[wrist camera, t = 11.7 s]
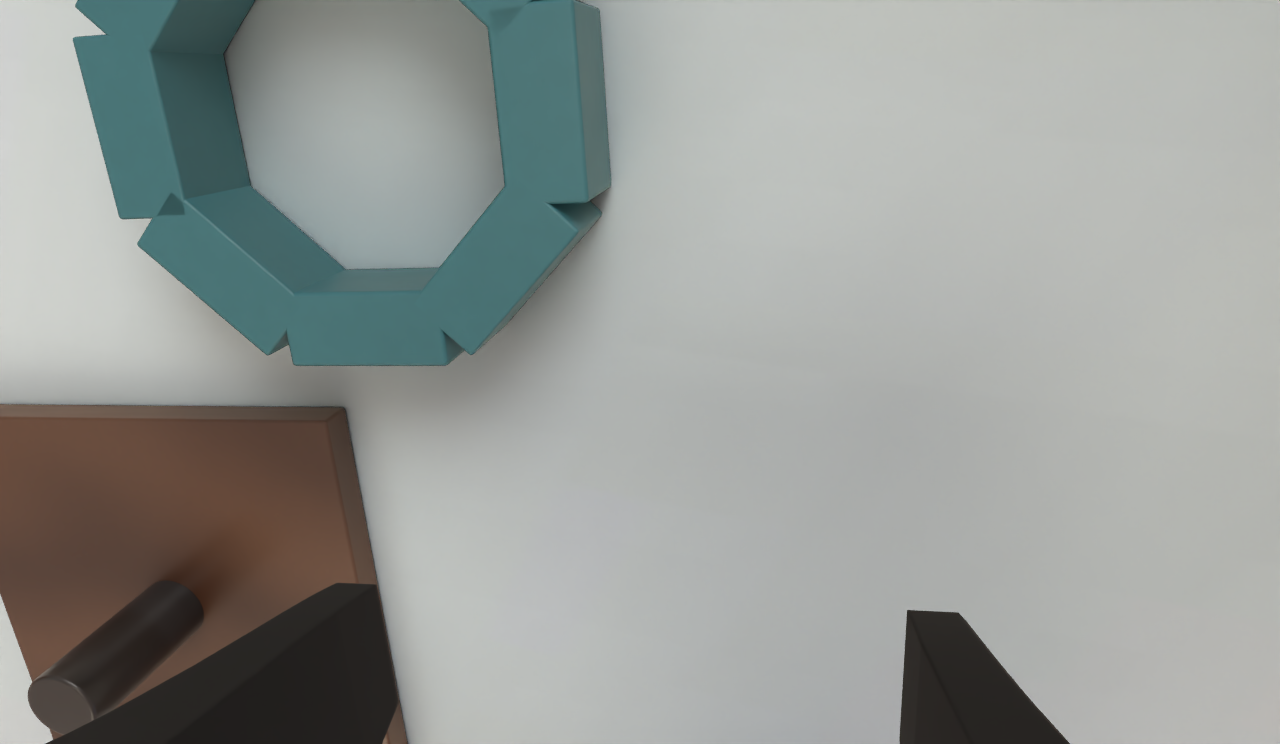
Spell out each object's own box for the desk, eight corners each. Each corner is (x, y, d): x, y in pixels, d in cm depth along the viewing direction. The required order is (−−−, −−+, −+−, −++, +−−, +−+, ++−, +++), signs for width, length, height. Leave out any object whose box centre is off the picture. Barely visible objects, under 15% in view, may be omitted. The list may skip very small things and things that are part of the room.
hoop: (621, 333, 20) (600, 366, 17) (223, 336, 21) (157, 367, 19) (587, -183, 16) (556, -224, 14) (115, -128, 18) (19, -157, 16)
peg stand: (411, 758, 25) (327, 912, 21) (81, 729, 27) (-63, 864, 23) (345, 406, 21) (224, 497, 17) (-33, 403, 23) (-235, 484, 19)
